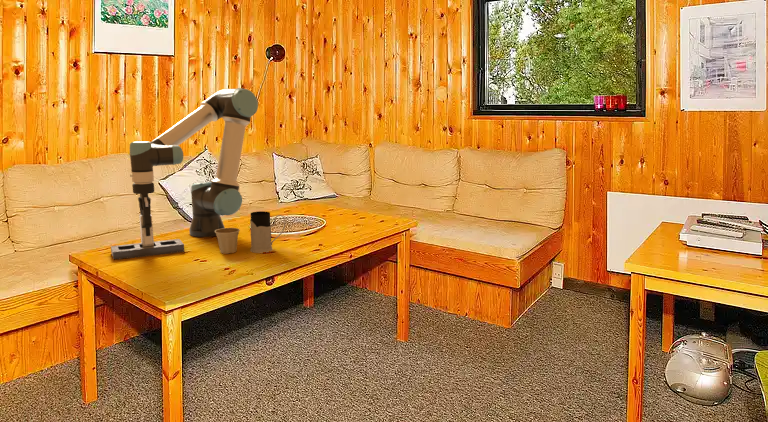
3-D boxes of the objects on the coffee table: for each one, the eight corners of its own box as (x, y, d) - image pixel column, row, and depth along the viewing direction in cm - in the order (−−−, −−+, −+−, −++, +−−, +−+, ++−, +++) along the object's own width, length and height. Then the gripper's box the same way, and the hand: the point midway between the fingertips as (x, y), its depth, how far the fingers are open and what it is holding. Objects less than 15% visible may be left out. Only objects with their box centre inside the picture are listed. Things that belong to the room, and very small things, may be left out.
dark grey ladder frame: (179, 246, 223) (179, 238, 222) (184, 251, 214) (183, 244, 214) (111, 253, 210) (110, 246, 210) (113, 260, 202) (112, 252, 201)
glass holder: (249, 248, 220) (247, 211, 218) (284, 245, 225) (283, 209, 223) (251, 253, 212) (250, 215, 210) (288, 250, 217) (287, 213, 215)
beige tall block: (152, 246, 215) (150, 213, 212) (154, 248, 211) (151, 215, 209) (141, 247, 213) (139, 214, 210) (143, 249, 209) (140, 216, 207)
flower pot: (214, 255, 209) (213, 233, 208) (216, 249, 219) (215, 228, 217) (239, 254, 211) (238, 232, 210) (241, 248, 220) (240, 227, 219)
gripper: (129, 180, 213) (134, 239, 217) (134, 186, 198) (139, 248, 203) (150, 179, 216) (154, 236, 221) (157, 184, 202) (161, 246, 206)
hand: (147, 242), depth 212 cm, fingers closed on beige tall block, 4 cm apart
